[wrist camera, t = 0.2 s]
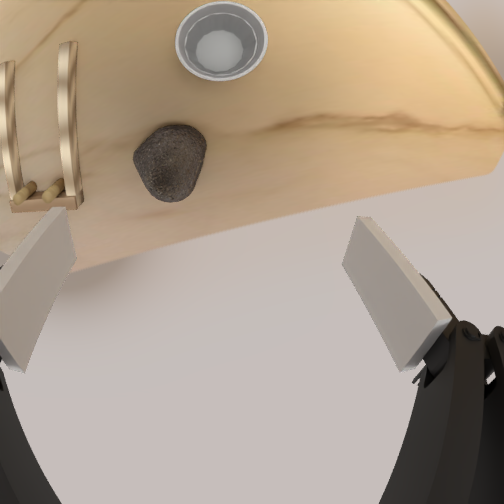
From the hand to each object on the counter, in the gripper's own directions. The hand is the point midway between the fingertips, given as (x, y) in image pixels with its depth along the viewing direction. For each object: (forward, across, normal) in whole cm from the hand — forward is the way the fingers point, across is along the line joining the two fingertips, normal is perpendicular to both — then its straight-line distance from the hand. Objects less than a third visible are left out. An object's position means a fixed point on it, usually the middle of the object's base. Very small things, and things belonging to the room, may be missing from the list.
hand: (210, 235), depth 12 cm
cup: (+28, 0, +10) cm, 30 cm away
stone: (+28, -5, -5) cm, 29 cm away
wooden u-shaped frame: (+28, -26, +1) cm, 38 cm away
